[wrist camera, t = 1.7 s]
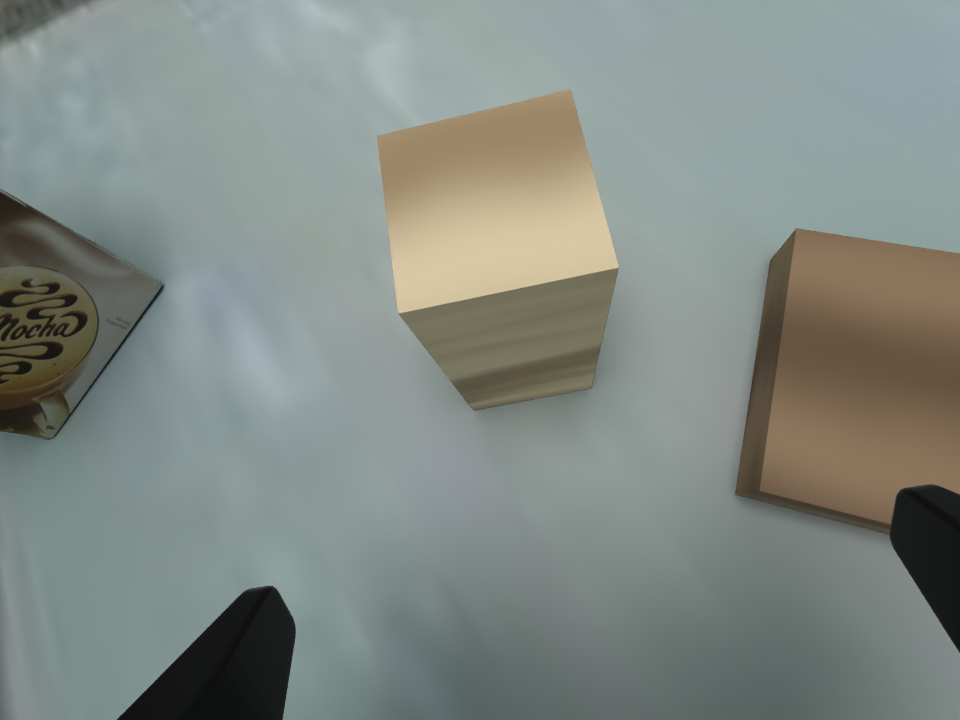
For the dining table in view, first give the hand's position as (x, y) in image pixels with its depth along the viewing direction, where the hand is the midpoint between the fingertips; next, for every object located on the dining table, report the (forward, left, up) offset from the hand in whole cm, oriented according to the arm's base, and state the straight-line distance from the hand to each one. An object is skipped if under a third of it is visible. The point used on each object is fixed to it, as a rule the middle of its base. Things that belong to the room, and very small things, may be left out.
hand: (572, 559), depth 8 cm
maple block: (+4, +7, -13) cm, 16 cm away
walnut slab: (+12, -5, -14) cm, 19 cm away
